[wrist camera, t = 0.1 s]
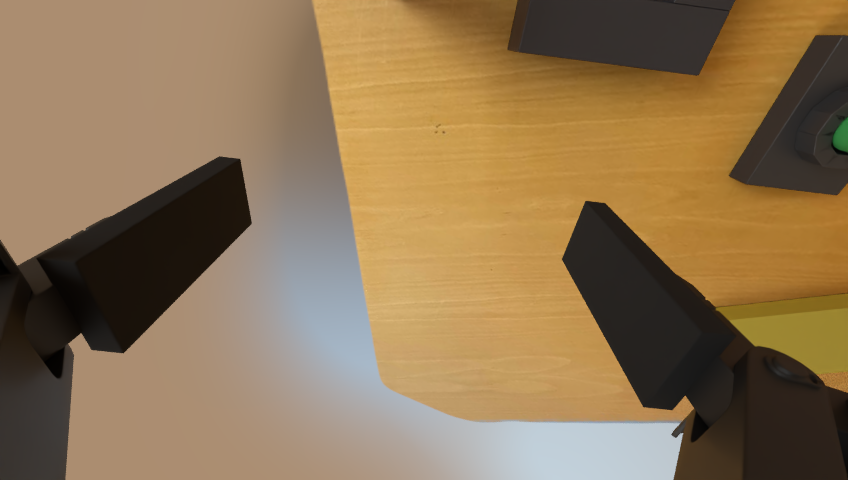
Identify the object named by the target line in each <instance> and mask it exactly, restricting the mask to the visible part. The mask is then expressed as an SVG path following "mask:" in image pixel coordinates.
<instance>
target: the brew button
mask: <svg viewBox="0 0 848 480" xmlns="http://www.w3.org/2000/svg"><path fill="white" fill-rule="evenodd" d="M832 142H833V145H834V147H835V148H837V149H838V150H841V151H844V152H848V117H846V118H845V119H844V120H843V121H842V122H841V124H840V125H839V126H838V128H837V129H836V130H835V132H834V134H833V139H832Z"/></svg>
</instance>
